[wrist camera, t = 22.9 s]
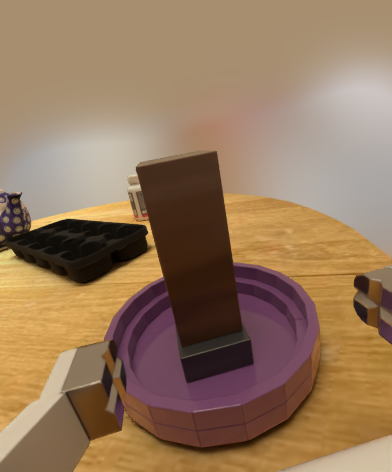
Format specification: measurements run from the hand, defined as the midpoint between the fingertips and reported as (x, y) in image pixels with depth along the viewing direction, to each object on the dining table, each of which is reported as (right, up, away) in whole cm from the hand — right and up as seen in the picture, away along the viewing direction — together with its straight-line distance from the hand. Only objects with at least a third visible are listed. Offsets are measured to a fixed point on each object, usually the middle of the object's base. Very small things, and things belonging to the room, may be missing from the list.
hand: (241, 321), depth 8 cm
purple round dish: (0, -5, +11) cm, 12 cm away
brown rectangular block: (0, -5, +10) cm, 12 cm away
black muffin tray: (-22, 0, +36) cm, 42 cm away
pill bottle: (-13, +7, +50) cm, 52 cm away
